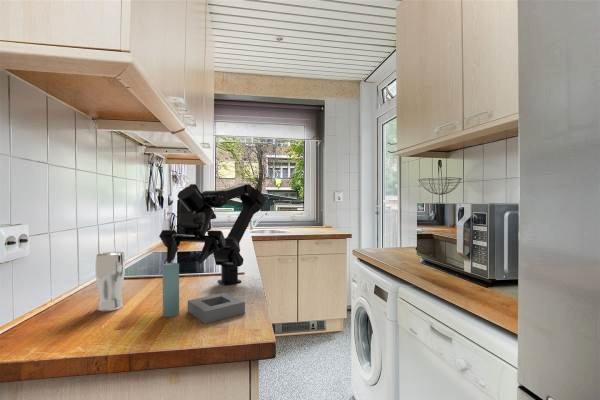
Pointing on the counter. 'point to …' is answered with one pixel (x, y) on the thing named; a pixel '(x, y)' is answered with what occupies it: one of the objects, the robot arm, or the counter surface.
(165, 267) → the peg
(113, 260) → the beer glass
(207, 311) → the socket block
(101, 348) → the counter surface
